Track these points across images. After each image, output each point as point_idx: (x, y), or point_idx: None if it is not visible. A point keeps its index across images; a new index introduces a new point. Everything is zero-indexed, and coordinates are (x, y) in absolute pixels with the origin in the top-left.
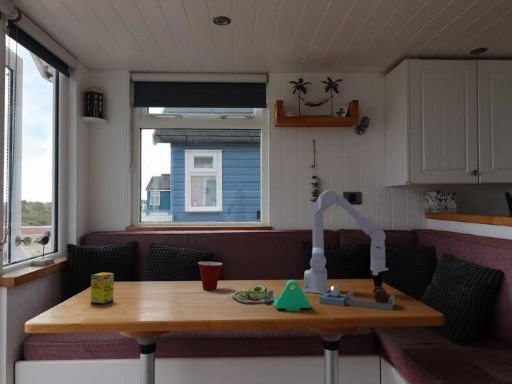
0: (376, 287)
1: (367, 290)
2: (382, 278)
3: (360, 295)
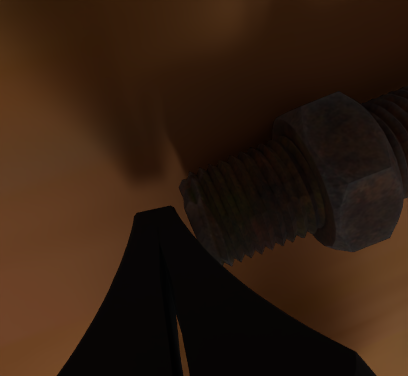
0: (395, 225)
1: (35, 335)
2: (293, 320)
3: (274, 285)
